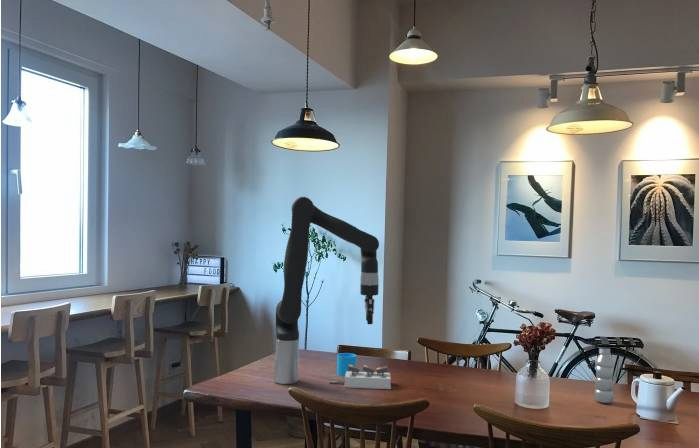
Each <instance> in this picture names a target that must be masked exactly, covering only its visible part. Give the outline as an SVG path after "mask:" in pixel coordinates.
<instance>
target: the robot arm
mask: <svg viewBox="0 0 699 448" xmlns="http://www.w3.org/2000/svg"><path fill="white" fill-rule="evenodd" d="M311 224H313V225H316V226H318V227H320V228H322V229H324V230H326V231H327V232H328V233H330V234H332V235H334V236H336V237H338V238H339V239H342V240H344V242H347V243H349V244H353V245H355V246H356V247H358V248H360V256H361V263H360V265H361V267H360V268H361V269H360V272H361V273H360V284H359V285H360V295H361V296H365V298H364V309H365V320H366V323H367V325H373V323H374V318H373V317H374V311H375V299H374V296H378V295H379V288H380V287H379V262H378V259H377V250H378V249H379V246H380V241H379V240H378V238H377V237H376V236H374V235H372V234H370V233H368V232H366V231H364V230H361V229H360V228H358V227H356V226H354V225H352V224H350V223H349V222H347V221H345V220H342V219H340V218H338V217H335V216H334V215H331V214H329V213H326V212H324V211H323V210H322V209H319V208H318V207H317V206H316V205H315V204H314V203H313V201H312V199H310V198H309V197H306V196H299V197H297V198H296V199H294V200H293V202H292V205H291V228H290V232H289V236H288V239H287V243H286V249H285V253H284V261H283V280H284V281H283V282H284V283H283V284H284V285H283V287H284V288H283V293H282V294H283V295H282V299H281V300H280V301H279V302H278V303H277V304H276V308H275V335H276V336H275V337H276V338H275V340H276V343H275V358H274V367H273V368H274V370H273V371H274V372H273V373H274V374H273V376H274V377H273V383H274V384H275V383H276V384H281V385H290V384H296V383H298V382H299V354H300V353H299V350H300V348H299V347H300V346H299V345H300V331H299V319H300V317H301V314H302V298H303V297H302V296H303V295H302V294H303V288H304V287H303V286H304V282H305V275H306V271H307V265H308V258H309V239H310V229H311Z"/></svg>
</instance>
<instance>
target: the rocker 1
mask: <svg viewBox="0 0 699 448" xmlns="http://www.w3.org/2000/svg"><path fill="white" fill-rule="evenodd" d="M348 370H349V371H352V372H356V373H359V372H360V370H361V368H360V367H359V366H357V365H356V366H353V365H350V364H349V366H348Z"/></svg>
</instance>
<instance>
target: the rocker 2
mask: <svg viewBox="0 0 699 448" xmlns="http://www.w3.org/2000/svg"><path fill="white" fill-rule="evenodd" d="M361 372H369V373H372V374H374V372H375V367H372V366H368V365H366V364H363V366H362V371H361Z"/></svg>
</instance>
